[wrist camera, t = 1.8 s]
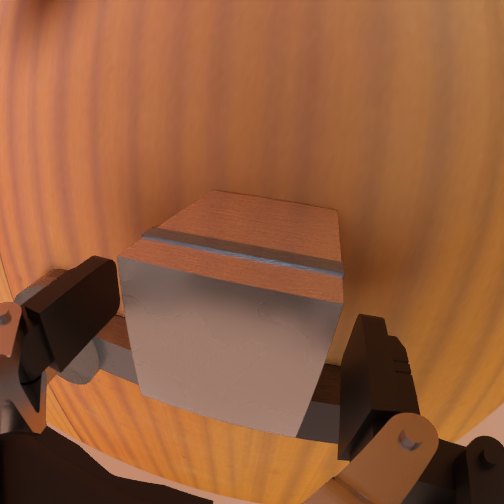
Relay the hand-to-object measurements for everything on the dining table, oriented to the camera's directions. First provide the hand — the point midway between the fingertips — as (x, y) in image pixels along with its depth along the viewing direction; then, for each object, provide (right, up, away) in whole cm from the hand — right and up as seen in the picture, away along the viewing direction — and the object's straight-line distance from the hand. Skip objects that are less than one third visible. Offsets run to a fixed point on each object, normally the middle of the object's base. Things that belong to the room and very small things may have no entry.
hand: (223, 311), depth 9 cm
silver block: (+1, +2, +4) cm, 4 cm away
